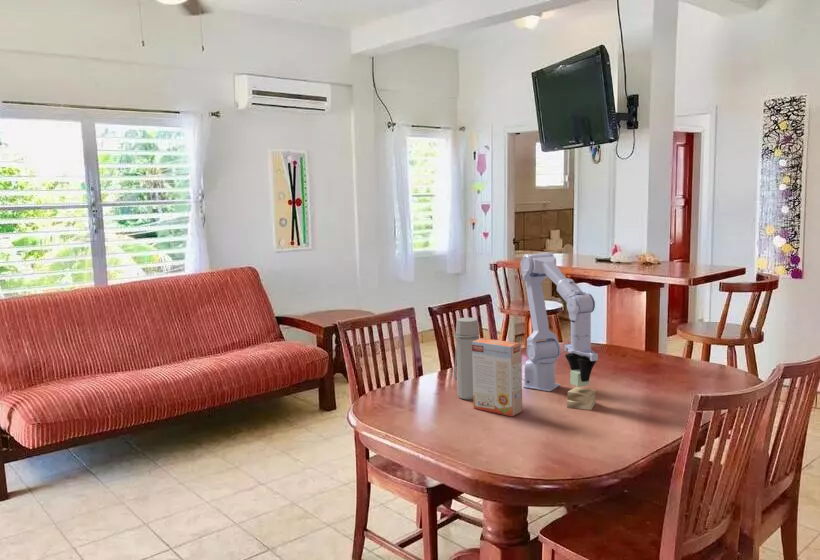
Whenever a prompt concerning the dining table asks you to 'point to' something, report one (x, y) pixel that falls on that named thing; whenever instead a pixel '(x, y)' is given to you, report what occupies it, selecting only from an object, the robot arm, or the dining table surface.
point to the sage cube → (577, 378)
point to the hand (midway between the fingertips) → (580, 379)
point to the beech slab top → (581, 394)
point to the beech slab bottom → (581, 404)
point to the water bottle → (465, 355)
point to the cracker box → (497, 376)
